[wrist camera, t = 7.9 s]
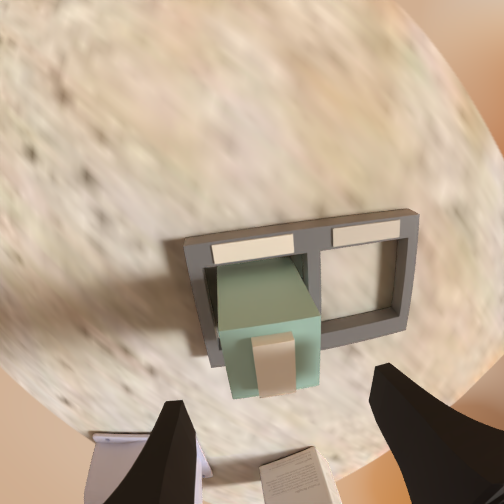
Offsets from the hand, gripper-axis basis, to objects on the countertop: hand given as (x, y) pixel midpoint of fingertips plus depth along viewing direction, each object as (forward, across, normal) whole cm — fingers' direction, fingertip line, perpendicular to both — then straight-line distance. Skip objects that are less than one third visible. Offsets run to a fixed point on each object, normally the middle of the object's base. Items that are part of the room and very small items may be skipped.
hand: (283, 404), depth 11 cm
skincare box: (+8, -2, +20) cm, 22 cm away
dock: (+8, -3, 0) cm, 9 cm away
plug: (+8, 0, 0) cm, 8 cm away
